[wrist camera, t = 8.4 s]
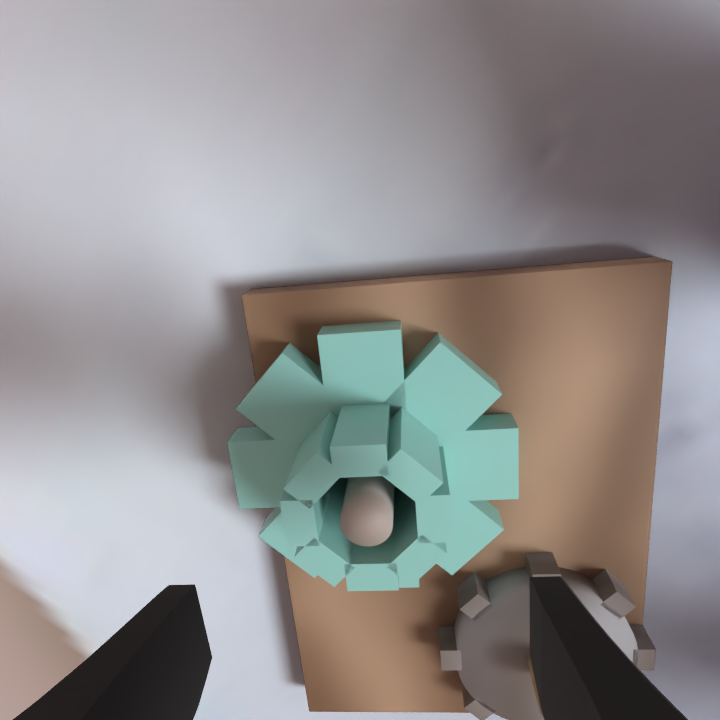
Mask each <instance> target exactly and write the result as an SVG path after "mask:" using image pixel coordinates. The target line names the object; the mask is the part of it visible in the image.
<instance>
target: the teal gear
mask: <svg viewBox="0 0 720 720" xmlns="http://www.w3.org/2000/svg"><path fill="white" fill-rule="evenodd" d="M317 338H318V347H319V355H320V363H321V367H319V366H318V365H317V364H316V363H314V362H313V361H312V360H311V359H309V358H308V357H307V356H306V355H304V354H303V353H302V352H301V351H300V350H298V349H297V348H296V347H295V346H293V345H292V344H291V343H289V344H288V345H287V346H286V348H285V349H284V350H283V351H282V353H281V354H280V355H279V356H278V357H277V359H276V360H275V361H274V362H273V363H272V365H271V366H270V367H269V368H268V370H267V371H266V372H265V373H264V374H263V376H262V377H261V378H260V379H259V380H258V382H257V383H256V384H255V385H254V387H253V388H252V389H251V390H250V391H249V393H248V394H247V395H246V396H245V398H244V399H243V400H242V401H241V403H240V404H239V405H238V407H237V408H236V410H237V411H238V412H240V413H241V414H242V415H244V416H245V417H246V418H247V419H249V420H250V421H251V422H253V423H254V424H255V425H257V426H258V427H242V428H237V429H236V430H235V432H234V433H233V435H232V436H231V438H230V439H229V440H228V442H227V444H228V450H229V455H230V460H231V466H232V471H233V476H234V482H235V487H236V492H237V498H238V503H239V509H249V508H275V509H274V510H273V511H272V512H271V513H270V514H269V515H268V517H267V518H266V520H265V522H264V524H263V527H262V529H261V531H260V534H259V536H258V537H259V538H260V539H262V540H263V541H264V542H266V543H267V544H268V545H270V546H271V547H273V548H274V549H275V550H277V551H278V552H279V553H281V554H282V555H284V556H285V557H286V558H288V559H289V560H290V561H292V562H293V563H294V564H296V565H297V566H299V567H300V568H301V569H303V570H304V571H305V572H307V573H308V574H309V575H311V576H312V577H314V578H315V577H316V576H317V575H318V576H320V577H321V578H322V579H324V580H325V581H327V582H328V583H329V584H331V585H332V586H333V587H335V586H336V585H337V584H338V583H339V582H340V581H341V580H342V579H343V578H344V577H345V576H346V583H347V591H392V590H399V588H413V587H419V579H420V578H421V577H422V576H423V575H424V574H425V573H426V572H427V571H429V570H430V569H431V568H432V567H433V566H434V565H435V564H438V565H439V566H440V567H442V568H443V569H444V570H446V571H447V572H448V573H450V574H451V575H453V574H454V573H455V572H457V571H458V570H459V569H460V568H461V567H462V566H463V565H465V564H466V563H467V562H468V561H469V560H470V559H471V558H473V557H474V556H475V555H476V554H477V553H478V552H479V551H481V550H482V549H483V548H484V547H485V546H486V545H487V544H489V543H490V542H491V541H492V540H493V539H494V538H495V537H497V536H498V535H499V534H500V533H501V532H502V531H503V530H504V527H503V524H502V520H501V517H500V513H499V510H498V509H496V508H495V507H494V506H493V505H491V504H490V503H489V502H488V501H486V500H506V499H519V431H518V426H517V424H516V422H515V419H514V417H513V415H512V414H493V415H482V414H483V413H484V412H485V411H486V410H487V409H488V408H489V407H490V406H491V405H492V404H493V403H494V402H495V401H496V400H497V399H498V398H499V397H500V396H501V395H502V393H501V391H500V388H499V386H498V384H497V382H496V381H495V380H494V379H493V378H491V377H490V376H489V375H488V374H487V373H486V372H484V371H483V370H482V369H481V368H480V367H478V366H477V365H476V364H475V363H474V362H473V361H471V360H470V359H469V358H468V357H467V356H465V355H464V354H463V353H462V352H461V351H460V350H458V349H457V348H456V347H455V346H454V345H453V344H451V343H450V342H449V341H448V340H447V339H445V338H444V337H443V336H442V335H441V334H440V333H437V334H436V335H435V336H434V338H433V339H432V340H431V341H430V342H429V343H428V344H427V345H426V346H425V347H424V348H423V349H422V350H421V352H420V353H419V354H418V355H417V356H416V357H415V358H414V359H413V360H412V361H411V362H410V363H409V364H408V366H407V367H406V368H405V369H404V356H403V342H402V328H401V320H400V321H386V322H372V323H358V324H344V325H330V326H322V328H321V330H320V331H319V333H318V335H317ZM372 476H383V477H384V478H386V479H387V480H388V481H390V482H391V483H392V484H393V485H395V486H396V487H395V488H394V512H393V529H392V532H391V534H390V536H389V537H388V538H387V540H385V541H384V542H383V543H381V544H379V545H376V546H369V547H368V546H360V545H357V544H355V543H353V542H351V541H350V540H348V539H347V538H346V537H345V535H344V534H343V532H342V530H341V527H340V518H341V513H342V508H343V503H344V498H345V493H346V488H347V482H348V480H347V479H346V478H347V477H372Z"/></svg>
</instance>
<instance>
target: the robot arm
mask: <svg viewBox="0 0 720 720" xmlns="http://www.w3.org/2000/svg"><path fill="white" fill-rule="evenodd" d="M529 588H530V658H531V663H532V668H533V673H534V678H535V683H536V688H537V693H538V697H539V702H540V707H541V710H542V714H543V717H544V720H688V719H687V718H686V717H685V716H684V715H683V714H682V713H681V712H680V711H679V710H678V709H677V708H676V707H675V706H674V705H673V704H672V703H671V702H670V701H669V700H668V699H667V698H666V697H665V696H664V695H663V694H662V693H661V692H660V691H659V690H658V689H657V688H656V687H655V686H654V685H653V684H652V683H651V682H650V681H649V680H648V679H647V678H646V676H645V675H644V674H643V673H642V672H641V671H640V670H639V669H638V668H637V667H636V666H635V665H634V663H633V662H632V661H631V660H630V659H629V658H628V657H627V656H626V654H625V653H624V652H623V651H622V650H621V649H620V648H619V647H618V646H617V644H616V643H615V642H614V641H613V640H612V639H611V638H610V636H609V635H608V634H607V633H606V632H605V630H604V629H603V628H602V627H601V626H600V624H599V623H598V622H597V621H596V620H595V618H594V617H593V616H592V615H591V613H590V612H589V611H588V610H587V608H586V607H585V606H584V605H583V603H582V602H581V601H580V600H579V598H578V597H577V596H576V594H575V593H574V592H573V590H572V589H571V588H570V586H569V585H568V584H567V582H566V581H565V580H564V579H563V578H561V577H560V576H549V577H529ZM211 659H212V655H211V651H210V647H209V642H208V638H207V634H206V629H205V625H204V621H203V617H202V612H201V608H200V604H199V600H198V595H197V591H196V587H195V585H169V586H167V587H166V588H165V589H164V590H163V591H162V592H160V593H159V594H158V595H157V596H156V597H155V598H154V599H152V600H151V601H150V602H149V603H148V604H147V605H146V606H145V607H144V608H143V609H142V610H140V611H139V612H138V613H137V614H136V615H135V616H134V617H133V618H132V619H131V620H130V621H128V622H127V623H126V624H125V625H124V626H123V627H122V628H121V629H120V630H119V631H118V632H116V633H115V634H114V635H113V636H112V637H111V638H110V639H109V640H108V641H106V642H105V643H104V644H103V645H102V646H101V647H100V648H99V649H98V650H96V651H95V652H94V653H93V654H92V655H91V656H90V657H89V658H87V659H86V660H85V661H84V662H83V663H82V664H80V665H79V666H78V667H77V668H76V669H75V670H73V671H72V672H71V673H70V674H69V675H67V676H66V677H65V678H64V679H63V680H61V681H60V682H59V683H58V684H57V685H55V686H54V687H53V688H52V689H51V690H50V691H48V692H47V693H46V694H45V695H44V696H42V697H41V698H40V699H39V700H38V701H36V702H35V703H34V704H32V705H31V706H30V707H29V708H27V709H26V710H25V711H24V712H22V713H21V714H20V715H18V716H17V717H16V718H14V719H13V720H193V718H194V716H195V713H196V711H197V708H198V705H199V702H200V698H201V695H202V692H203V688H204V685H205V681H206V678H207V674H208V670H209V667H210V663H211Z"/></svg>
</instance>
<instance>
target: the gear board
mask: <svg viewBox="0 0 720 720" xmlns="http://www.w3.org/2000/svg"><path fill="white" fill-rule="evenodd" d="M671 271H672V261H669V260H665V259H662V258H658V257H645V258H633V259H620V260H608V261H595V262H583V263H570V264H558V265H545V266H533V267H520V268H508V269H495V270H483V271H470V272H458V273H445V274H433V275H420V276H408V277H395V278H383V279H370V280H358V281H345V282H333V283H320V284H308V285H295V286H283V287H270V288H258V289H251V290H249V291H248V292H246V293H245V294H243V295H242V300H243V306H244V312H245V318H246V325H247V331H248V337H249V343H250V349H251V355H252V361H253V368H254V374H255V380H256V383H257V382H258V380H259V379H260V378H261V377H262V376H263V374H264V373H265V372H266V371H267V370H268V368H269V367H270V366H271V365H272V363H273V362H274V361H275V360H276V359H277V357H278V356H279V355H280V354H281V353H282V351H283V350H284V349H285V348H286V346H287V345H288V344H289V343H291V344H292V345H293V346H295V347H296V348H297V349H298V350H300V351H301V352H302V353H303V354H304V355H306V356H307V357H308V358H309V359H311V360H312V361H313V362H314V363H316V364H317V365H318V366H319V367H321V363H320V355H319V347H318V338H317V335H318V333H319V331H320V330H321V328H322V326H330V325H344V324H358V323H372V322H386V321H400V320H401V328H402V342H403V356H404V369H405V368H406V367H407V366H408V364H409V363H410V362H411V361H412V360H413V359H414V358H415V357H416V356H417V355H418V354H419V353H420V352H421V350H422V349H423V348H424V347H425V346H426V345H427V344H428V343H429V342H430V341H431V340H432V339H433V338H434V336H435V335H436V334H437V333H440V334H441V335H442V336H443V337H444V338H445V339H447V340H448V341H449V342H450V343H451V344H453V345H454V346H455V347H456V348H457V349H458V350H460V351H461V352H462V353H463V354H464V355H465V356H467V357H468V358H469V359H470V360H471V361H473V362H474V363H475V364H476V365H477V366H478V367H480V368H481V369H482V370H483V371H484V372H486V373H487V374H488V375H489V376H490V377H491V378H493V379H494V380H495V381H496V382H497V384H498V386H499V388H500V391H501V393H502V395H501V396H500V397H499V398H498V399H497V400H496V401H495V402H494V403H493V404H492V405H491V406H490V407H489V408H488V409H487V410H486V411H485V412H484V413H483V414H482V415H493V414H512V415H513V417H514V419H515V422H516V424H517V426H518V431H519V499H506V500H486V501H488V502H489V503H490V504H491V505H493V506H494V507H495V508H496V509H498V510H499V513H500V517H501V520H502V524H503V527H504V530H503V531H502V532H501V533H500V534H499V535H498V536H497V537H495V538H494V539H493V540H492V541H491V542H490V543H489V544H487V545H486V546H485V547H484V548H483V549H482V550H481V551H479V552H478V553H477V554H476V555H475V556H474V557H473V558H471V559H470V560H469V561H468V562H467V563H466V564H465V565H463V566H462V567H461V568H460V569H459V570H458V571H457V572H455V573H454V574H453V575H451V574H450V573H448V572H447V571H446V570H444V569H443V568H442V567H440V566H439V565H438V564H435V565H434V566H433V567H432V568H431V569H430V570H429V571H427V572H426V573H425V574H424V575H423V576H422V577H421V578H420V579H419V587H413V588H399V590H392V591H347V583H346V576H345V577H344V578H343V579H342V580H341V581H340V582H339V583H338V584H337V585H336V586H335V587H333V586H332V585H331V584H329V583H328V582H327V581H325V580H324V579H322V578H321V577H320V576H318V575H317V576H316V577H315V578H314V577H312V576H311V575H309V574H308V573H307V572H305V571H304V570H303V569H301V568H300V567H299V566H297V565H296V564H294V563H293V562H292V561H290V560H289V559H288V558H286V557H285V556H284V559H285V565H286V571H287V577H288V583H289V590H290V596H291V602H292V608H293V614H294V620H295V626H296V633H297V639H298V645H299V651H300V657H301V663H302V670H303V676H304V682H305V688H306V694H307V700H308V707H309V711H314V712H460V713H471V714H473V715H474V716H476V717H477V718H478V719H480V720H485V719H486V718H488V717H489V716H490V715H492V714H493V713H494V714H496V715H498V716H500V717H503V718H505V719H508V720H544V717H543V714H542V710H541V707H540V702H539V697H538V693H537V688H536V683H535V678H534V673H533V668H532V663H531V658H530V588H529V577H549V576H560V577H561V578H563V579H564V580H565V581H566V582H567V584H568V585H569V586H570V588H571V589H572V590H573V592H574V593H575V594H576V596H577V597H578V598H579V600H580V601H581V602H582V603H583V605H584V606H585V607H586V608H587V610H588V611H589V612H590V613H591V615H592V616H593V617H594V618H595V620H596V621H597V622H598V623H599V624H600V626H601V627H602V628H603V629H604V630H605V632H606V633H607V634H608V635H609V636H610V638H611V639H612V640H613V641H614V642H615V643H616V644H617V646H618V647H619V648H620V649H621V650H622V651H623V652H624V653H625V654H626V656H627V657H628V658H629V659H630V660H631V661H632V662H633V663H634V665H635V666H636V667H637V668H638V669H639V670H654V664H655V653H656V649H655V647H654V645H653V643H652V641H651V640H650V638H649V636H648V634H647V632H646V630H645V628H644V627H643V625H642V624H643V612H644V600H645V587H646V575H647V563H648V551H649V539H650V527H651V514H652V502H653V490H654V478H655V466H656V454H657V441H658V429H659V417H660V405H661V393H662V380H663V368H664V356H665V344H666V332H667V320H668V307H669V295H670V283H671ZM346 479H347V480H348V482H347V488H346V493H345V498H344V503H343V508H342V513H341V518H340V527H341V530H342V532H343V534H344V535H345V537H346V538H347V539H348V540H350V541H351V542H353V543H355V544H357V545H360V546H368V547H369V546H376V545H379V544H381V543H383V542H384V541H385V540H387V538H388V537H389V536H390V534H391V532H392V529H393V512H394V488H395V487H396V486H395V485H393V484H392V483H391V482H390V481H388V480H387V479H386V478H384V477H383V476H372V477H347V478H346Z"/></svg>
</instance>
